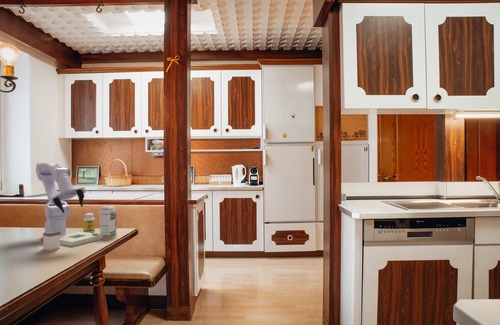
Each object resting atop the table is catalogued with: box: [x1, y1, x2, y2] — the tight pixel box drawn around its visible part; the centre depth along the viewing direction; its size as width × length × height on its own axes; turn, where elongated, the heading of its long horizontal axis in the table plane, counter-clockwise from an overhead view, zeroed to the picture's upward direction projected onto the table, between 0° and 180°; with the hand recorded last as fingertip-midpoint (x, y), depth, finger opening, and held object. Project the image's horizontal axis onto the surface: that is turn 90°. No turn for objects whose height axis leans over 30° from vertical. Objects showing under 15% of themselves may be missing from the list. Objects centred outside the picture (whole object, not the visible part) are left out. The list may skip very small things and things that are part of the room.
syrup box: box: [99, 205, 117, 236], centre depth 164 cm, size 6×6×14 cm
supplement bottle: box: [82, 212, 96, 233], centre depth 168 cm, size 5×5×10 cm
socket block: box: [60, 231, 104, 247], centre depth 150 cm, size 16×16×3 cm
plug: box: [42, 231, 61, 251], centre depth 136 cm, size 4×4×7 cm
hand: (72, 208), depth 142 cm, fingers open, 7 cm apart
